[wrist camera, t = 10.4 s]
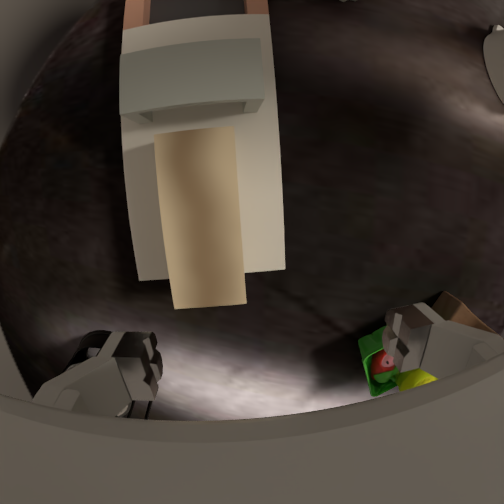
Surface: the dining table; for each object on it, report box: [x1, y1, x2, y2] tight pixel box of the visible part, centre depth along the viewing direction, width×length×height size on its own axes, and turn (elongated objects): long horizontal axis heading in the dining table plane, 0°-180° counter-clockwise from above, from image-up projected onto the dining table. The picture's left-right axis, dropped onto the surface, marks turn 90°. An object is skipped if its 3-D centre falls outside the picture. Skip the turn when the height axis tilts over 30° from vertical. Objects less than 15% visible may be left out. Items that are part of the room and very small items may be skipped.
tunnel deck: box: [119, 0, 285, 281], centre depth 22 cm, size 14×32×8 cm, turn 4°
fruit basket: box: [358, 316, 441, 397], centre depth 30 cm, size 11×9×11 cm
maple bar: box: [154, 126, 247, 309], centre depth 24 cm, size 6×14×4 cm, turn 4°
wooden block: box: [431, 291, 504, 339], centre depth 27 cm, size 9×4×18 cm, turn 54°
